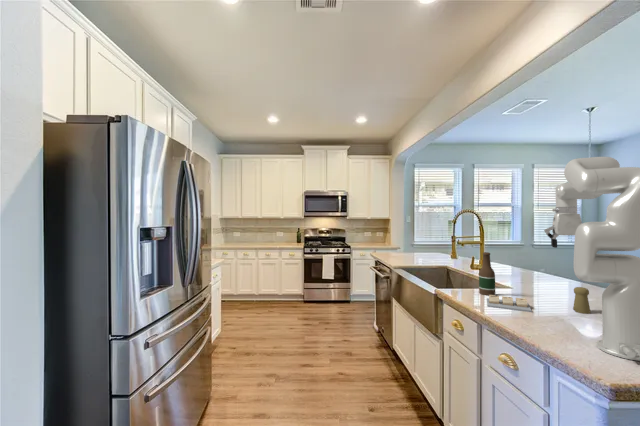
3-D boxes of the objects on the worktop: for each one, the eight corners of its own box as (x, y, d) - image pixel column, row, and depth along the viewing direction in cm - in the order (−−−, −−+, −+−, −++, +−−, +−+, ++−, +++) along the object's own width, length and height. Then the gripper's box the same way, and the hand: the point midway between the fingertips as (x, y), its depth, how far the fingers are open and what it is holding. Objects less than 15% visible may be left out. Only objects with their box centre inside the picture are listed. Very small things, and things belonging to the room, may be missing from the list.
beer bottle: (476, 295, 158) (475, 252, 158) (485, 293, 161) (484, 251, 161) (489, 299, 151) (488, 253, 151) (498, 297, 154) (498, 252, 154)
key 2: (513, 307, 133) (512, 299, 134) (502, 305, 135) (502, 298, 135) (512, 304, 137) (512, 297, 137) (502, 303, 139) (502, 296, 139)
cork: (594, 314, 126) (593, 289, 126) (578, 313, 128) (578, 289, 128) (584, 309, 132) (584, 286, 132) (569, 309, 133) (569, 285, 134)
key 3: (499, 305, 136) (499, 297, 136) (489, 304, 138) (489, 296, 138) (498, 303, 140) (498, 295, 140) (489, 302, 142) (489, 294, 142)
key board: (531, 315, 126) (531, 310, 126) (487, 309, 135) (487, 305, 135) (527, 306, 138) (527, 302, 138) (486, 301, 146) (486, 298, 146)
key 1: (527, 308, 131) (527, 300, 131) (516, 307, 133) (516, 299, 133) (526, 306, 134) (526, 298, 134) (515, 305, 136) (515, 297, 136)
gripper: (548, 211, 132) (548, 248, 132) (594, 210, 127) (595, 249, 127) (540, 211, 139) (541, 246, 139) (584, 210, 134) (585, 247, 134)
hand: (567, 247), depth 133 cm, fingers open, 9 cm apart
